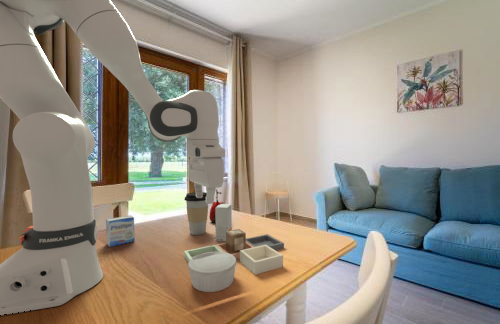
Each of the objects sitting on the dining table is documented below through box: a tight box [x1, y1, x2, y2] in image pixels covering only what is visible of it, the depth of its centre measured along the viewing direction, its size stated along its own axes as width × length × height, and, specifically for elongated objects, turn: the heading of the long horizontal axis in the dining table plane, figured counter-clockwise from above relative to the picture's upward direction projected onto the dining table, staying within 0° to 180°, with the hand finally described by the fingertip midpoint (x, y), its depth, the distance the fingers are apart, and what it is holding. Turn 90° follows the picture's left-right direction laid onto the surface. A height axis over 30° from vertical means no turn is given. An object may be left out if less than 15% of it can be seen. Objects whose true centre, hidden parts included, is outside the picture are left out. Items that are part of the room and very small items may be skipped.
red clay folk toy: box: [208, 188, 225, 224], centre depth 106 cm, size 8×7×15 cm
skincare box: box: [215, 203, 233, 242], centre depth 84 cm, size 6×4×12 cm
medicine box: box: [105, 215, 135, 248], centre depth 82 cm, size 8×4×9 cm, turn 131°
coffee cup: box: [183, 191, 209, 236], centre depth 92 cm, size 9×9×15 cm
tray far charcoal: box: [246, 234, 285, 251], centre depth 77 cm, size 10×10×2 cm
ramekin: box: [187, 252, 237, 293], centre depth 56 cm, size 11×11×5 cm
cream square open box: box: [239, 245, 284, 276], centre depth 64 cm, size 8×8×4 cm
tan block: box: [225, 228, 247, 254], centre depth 72 cm, size 4×5×6 cm
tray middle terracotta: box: [215, 242, 254, 261], centre depth 72 cm, size 10×10×2 cm
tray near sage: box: [183, 244, 223, 263], centre depth 68 cm, size 10×10×2 cm
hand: (204, 200), depth 67 cm, fingers open, 8 cm apart
